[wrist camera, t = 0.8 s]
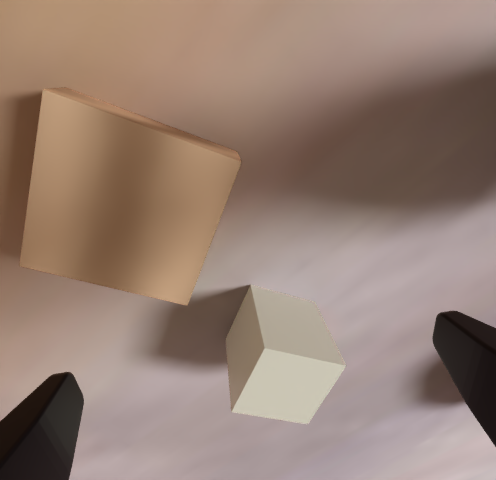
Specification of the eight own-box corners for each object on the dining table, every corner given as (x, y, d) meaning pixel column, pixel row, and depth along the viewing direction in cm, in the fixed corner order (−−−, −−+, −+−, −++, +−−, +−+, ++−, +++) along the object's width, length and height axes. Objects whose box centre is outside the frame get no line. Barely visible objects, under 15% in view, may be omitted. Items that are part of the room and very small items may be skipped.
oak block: (236, 149, 19) (241, 162, 16) (189, 278, 22) (187, 305, 20) (68, 87, 17) (42, 89, 14) (43, 241, 20) (19, 266, 17)
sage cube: (314, 301, 24) (346, 365, 19) (286, 352, 26) (307, 424, 21) (250, 284, 23) (264, 348, 17) (225, 339, 25) (231, 412, 19)
